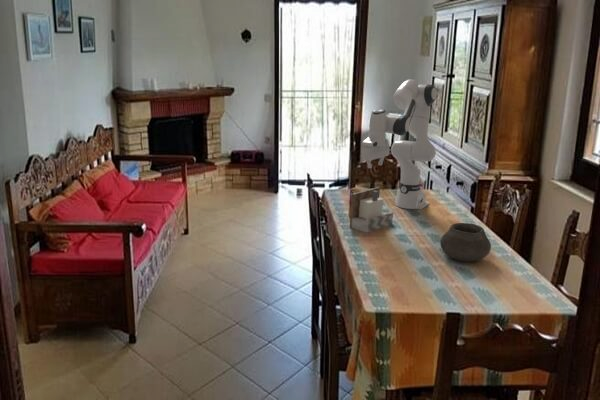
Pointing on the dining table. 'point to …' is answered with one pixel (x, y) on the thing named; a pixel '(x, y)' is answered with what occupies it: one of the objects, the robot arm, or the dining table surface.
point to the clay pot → (465, 242)
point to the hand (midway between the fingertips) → (375, 166)
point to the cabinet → (371, 206)
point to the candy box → (352, 190)
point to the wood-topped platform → (363, 223)
